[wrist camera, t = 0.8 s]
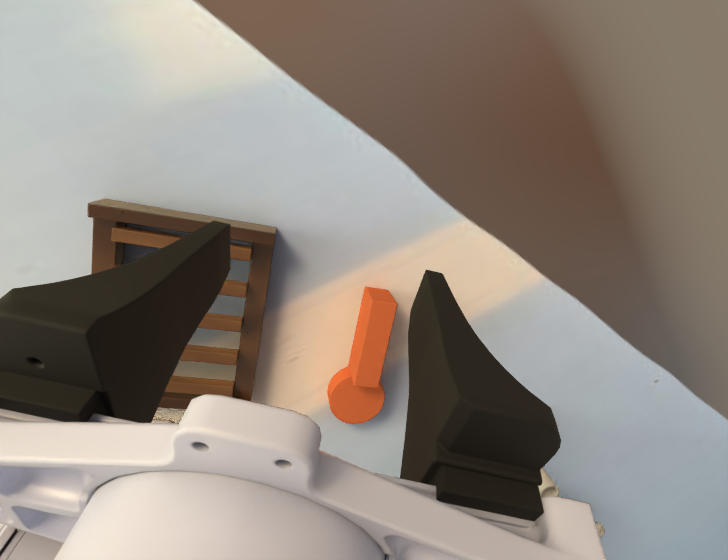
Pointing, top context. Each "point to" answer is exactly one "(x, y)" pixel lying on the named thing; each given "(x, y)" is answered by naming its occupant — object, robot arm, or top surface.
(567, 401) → the top surface
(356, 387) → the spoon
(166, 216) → the rack
